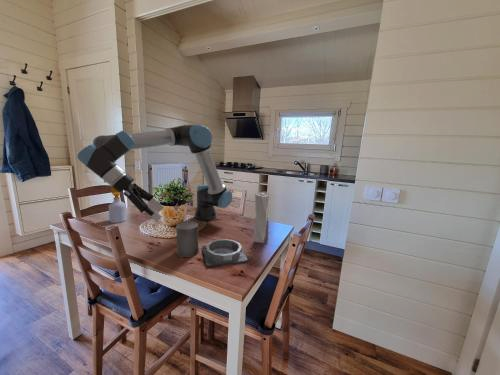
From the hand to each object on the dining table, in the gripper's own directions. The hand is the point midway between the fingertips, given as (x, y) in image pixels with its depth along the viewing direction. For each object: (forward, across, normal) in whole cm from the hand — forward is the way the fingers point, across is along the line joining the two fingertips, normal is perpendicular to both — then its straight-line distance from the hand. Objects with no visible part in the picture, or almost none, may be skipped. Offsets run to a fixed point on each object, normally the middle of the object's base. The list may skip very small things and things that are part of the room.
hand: (160, 214), depth 92 cm
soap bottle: (-6, -51, -34) cm, 62 cm away
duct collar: (+33, +6, +6) cm, 34 cm away
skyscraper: (+48, -4, +21) cm, 53 cm away
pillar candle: (+22, 0, -6) cm, 23 cm away
